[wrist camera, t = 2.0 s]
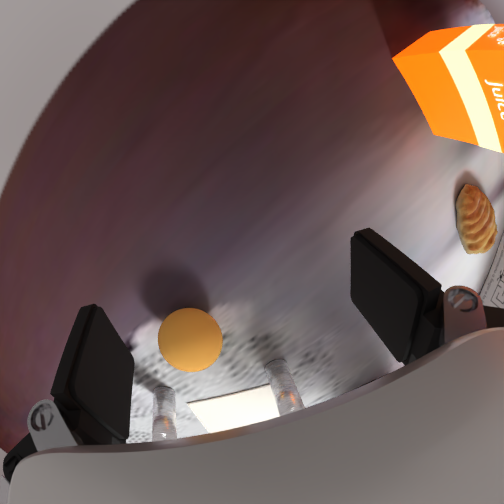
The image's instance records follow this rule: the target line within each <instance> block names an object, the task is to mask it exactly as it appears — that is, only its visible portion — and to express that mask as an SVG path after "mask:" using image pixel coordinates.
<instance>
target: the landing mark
mask: <svg viewBox="0 0 504 504" xmlns="http://www.w3.org/2000/svg"><path fill="white" fill-rule="evenodd" d="M187 405H188V406H189V407H190V409H191V410H192V411H193V413H194V414H195V415H196V417H197V418H198V419H199V421H200V422H201V423H202V424H203V426H204V427H205V428H206V430H207V431H208V432H209V433H214V432H219V431H224V430H229V429H233V428H238V427H242V426H246V425H250V424H254V423H258V422H262V421H265V420H269V419H272V418H276V417H279V416H280V415H279V412H278V408H277V405H276V402H275V399H274V396H273V393H272V390H271V387H270V384H268V385H264V386H261V387H257V388H253V389H249V390H246V391H242V392H238V393H233V394H229V395H225V396H220V397H216V398H211V399H206V400H201V401H196V402H191V403H187Z"/></svg>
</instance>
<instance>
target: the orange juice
mask: <svg viewBox="0 0 504 504" xmlns="http://www.w3.org/2000/svg"><path fill="white" fill-rule="evenodd" d="M392 59H393V61H394V62H395V64H396V66H397V67H398V69H399V70H400V72H401V74H402V75H403V77H404V79H405V80H406V82H407V84H408V85H409V87H410V89H411V91H412V92H413V94H414V96H415V98H416V100H417V102H418V103H419V105H420V107H421V109H422V111H423V113H424V115H425V117H426V119H427V121H428V123H429V125H430V127H431V130H432V132H433V134H434V135H438V136H442V137H447V138H451V139H456V140H460V141H464V142H468V143H472V144H476V145H479V146H480V147H484V148H487V149H491V150H494V151H497V152H500V153H502V152H503V153H504V24H482V25H473V26H465V27H456V28H449V29H442V30H436V31H430V32H429V33H427V34H426V35H424V36H423V37H421V38H420V39H418V40H417V41H416V42H414V43H413V44H411V45H410V46H408V47H407V48H406V49H404V50H403V51H401V52H400V53H399V54H397V55H396V56H395V57H393V58H392Z"/></svg>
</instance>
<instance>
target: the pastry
mask: <svg viewBox="0 0 504 504" xmlns="http://www.w3.org/2000/svg"><path fill="white" fill-rule="evenodd" d="M456 210H457V223H456V228H457V229H458V233H459V236H460V240H461V242H462V245H463V247H464V249H465V251H466V253H467V254H473V253H474V254H478V253H485V252H487V251H488V250H489V249H490V248H491V247H492V246H493V244H494V242H495V237H496V235H497V232H498V231H497V225H496V223H495V214H494V209H493V207H492V205H491V203H490V201H489V200H488V198H487V197H486V195H485V194H484V193H483V192H481V191H480V190H479V188H478V187H477V186H472V185H469V184H465V186H464V188H463V189H462V190H461V192H460V194H459V196H458V199H457V201H456Z"/></svg>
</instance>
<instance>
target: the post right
mask: <svg viewBox="0 0 504 504" xmlns="http://www.w3.org/2000/svg"><path fill="white" fill-rule="evenodd" d="M265 371H266V374H267V377H268V380H269V383H270V387H271V390H272V393H273V396H274V399H275V402H276V405H277V408H278V412H279V415H280V416H283V415H286V414H289V413H292V412H295V411H298V410H301V409H304V408H305V407H304V404H303V402H302V399H301V397H300V394H299V392H298V389H297V387H296V384H295V382H294V379H293V377H292V374H291V372H290V369H289V367H288V364H287V362H286V361H285V360H282V359H277V360H273V361H271V362H269V363H268V364H267V365H266V367H265Z"/></svg>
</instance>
